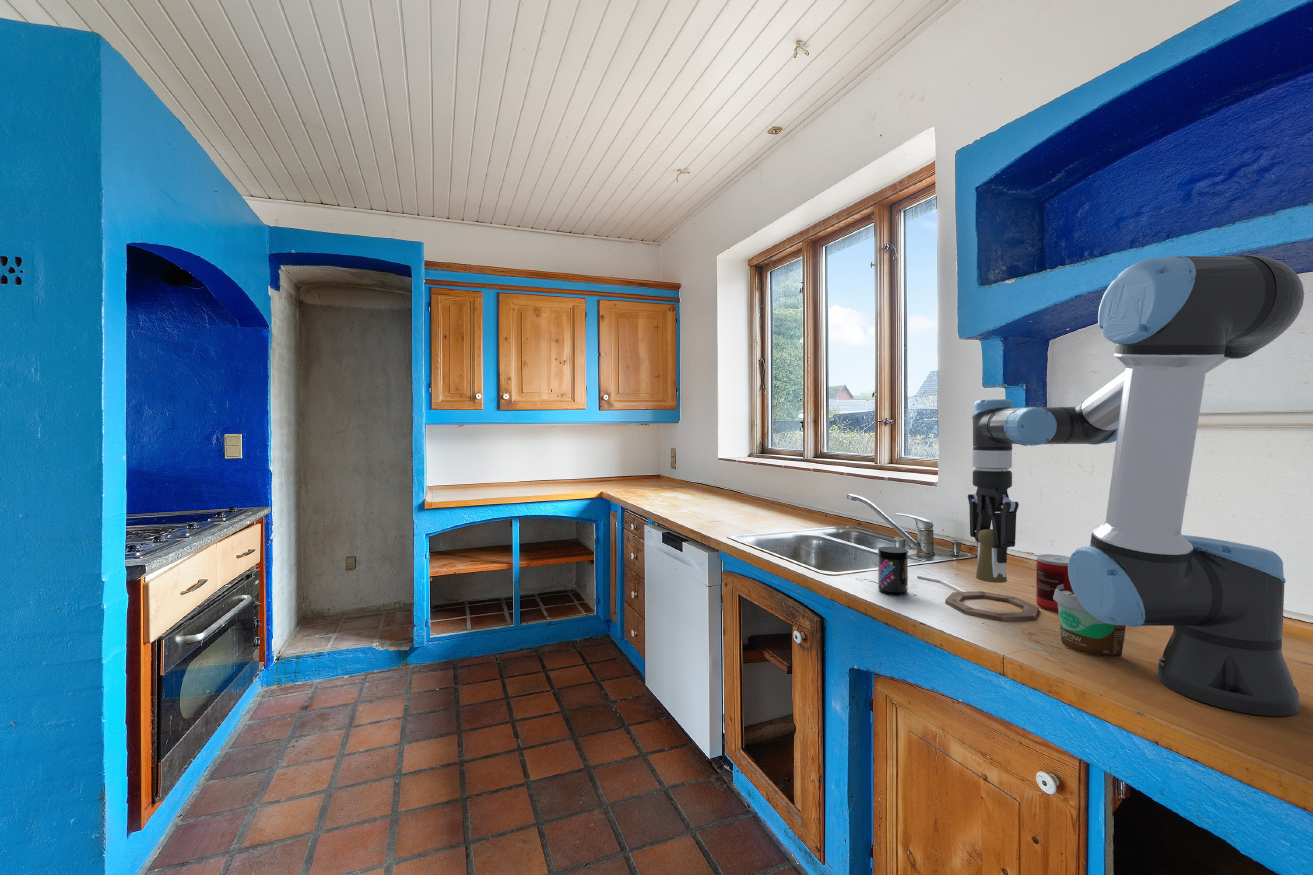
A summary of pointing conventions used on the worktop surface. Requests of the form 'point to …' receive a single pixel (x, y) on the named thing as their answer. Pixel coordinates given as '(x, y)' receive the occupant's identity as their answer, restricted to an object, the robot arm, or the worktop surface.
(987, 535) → the olive green pawn
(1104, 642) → the food container
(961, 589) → the lace cord
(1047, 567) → the canned food
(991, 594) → the ring
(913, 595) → the worktop surface
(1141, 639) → the worktop surface
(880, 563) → the supplement container
